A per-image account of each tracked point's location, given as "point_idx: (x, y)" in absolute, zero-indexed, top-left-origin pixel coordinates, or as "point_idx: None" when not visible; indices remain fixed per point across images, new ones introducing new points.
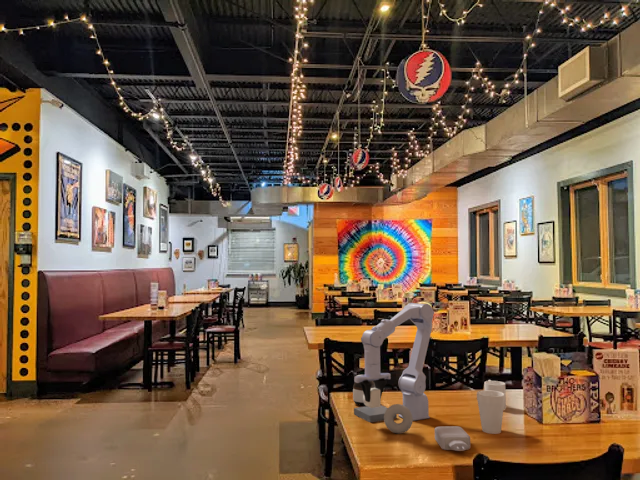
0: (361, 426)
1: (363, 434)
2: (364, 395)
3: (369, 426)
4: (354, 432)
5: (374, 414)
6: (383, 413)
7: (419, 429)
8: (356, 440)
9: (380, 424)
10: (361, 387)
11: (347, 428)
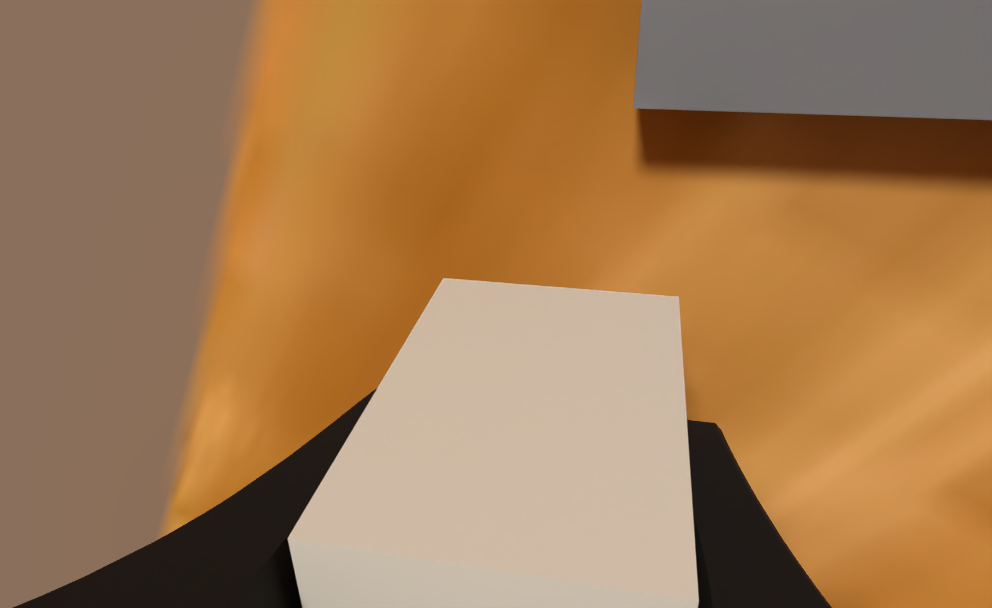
0: (433, 178)
1: (332, 405)
2: (305, 454)
3: (527, 230)
4: (270, 315)
5: (756, 85)
6: (957, 110)
7: (964, 586)
8: (216, 481)
9: (712, 233)
10: (88, 583)
11: (241, 159)
